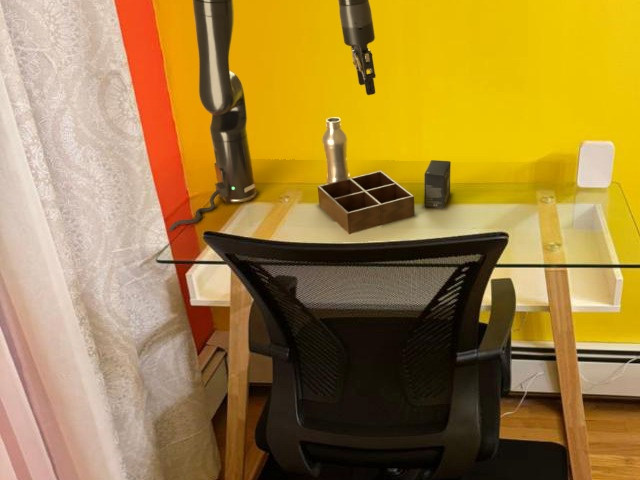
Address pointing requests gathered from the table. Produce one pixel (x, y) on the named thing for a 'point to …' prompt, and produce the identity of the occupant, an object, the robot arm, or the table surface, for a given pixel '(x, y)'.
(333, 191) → the compartment tray
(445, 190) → the box
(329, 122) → the silver metal bottle
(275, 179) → the table surface
